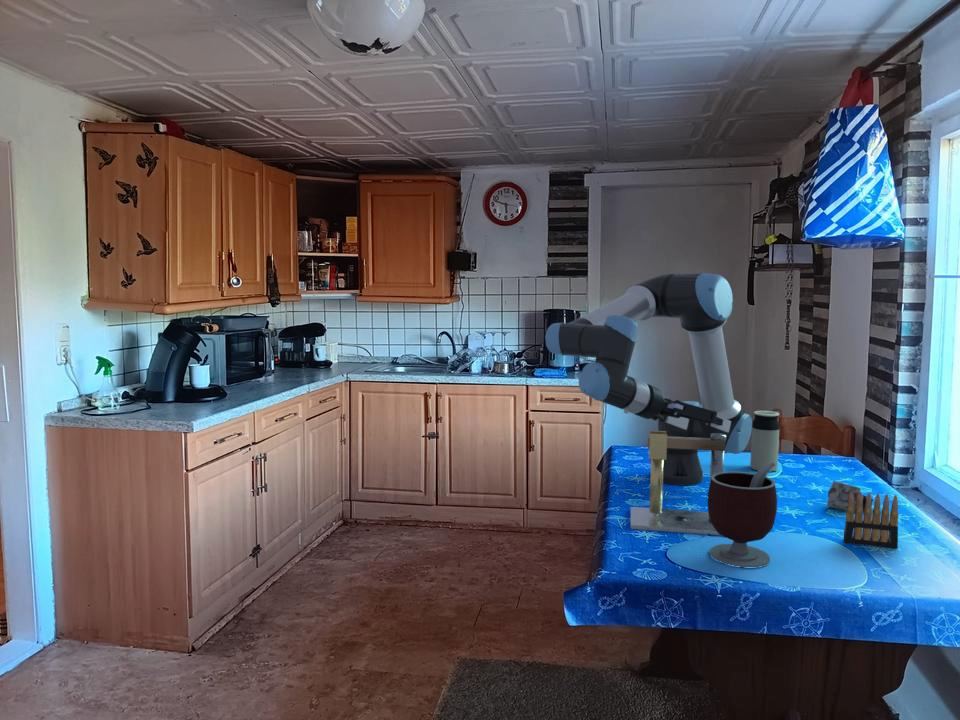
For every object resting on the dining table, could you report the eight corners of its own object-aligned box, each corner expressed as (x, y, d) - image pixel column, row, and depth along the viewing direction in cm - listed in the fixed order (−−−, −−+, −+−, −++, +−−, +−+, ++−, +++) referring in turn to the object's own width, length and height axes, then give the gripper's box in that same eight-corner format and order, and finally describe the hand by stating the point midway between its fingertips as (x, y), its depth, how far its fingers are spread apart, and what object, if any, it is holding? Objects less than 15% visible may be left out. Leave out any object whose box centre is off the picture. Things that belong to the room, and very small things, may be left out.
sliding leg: (647, 517, 175) (650, 434, 173) (646, 510, 181) (649, 429, 178) (664, 519, 174) (667, 435, 172) (663, 511, 180) (666, 430, 177)
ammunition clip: (895, 546, 161) (899, 494, 160) (897, 548, 159) (901, 496, 158) (843, 540, 165) (846, 489, 163) (844, 543, 163) (847, 491, 161)
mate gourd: (737, 574, 145) (742, 478, 143) (691, 550, 158) (695, 461, 156) (794, 562, 151) (799, 470, 149) (746, 540, 164) (750, 455, 162)
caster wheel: (864, 513, 192) (874, 519, 182) (819, 500, 195) (827, 506, 185) (870, 488, 192) (881, 493, 182) (826, 476, 195) (833, 481, 185)
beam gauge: (630, 528, 171) (633, 436, 169) (630, 510, 185) (633, 425, 183) (745, 537, 166) (749, 442, 164) (736, 517, 180) (740, 429, 177)
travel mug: (781, 472, 222) (784, 415, 220) (755, 472, 222) (758, 415, 220) (771, 465, 230) (774, 410, 228) (746, 465, 230) (749, 410, 228)
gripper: (602, 413, 173) (667, 437, 182) (674, 416, 151) (744, 444, 160) (610, 383, 174) (674, 409, 183) (682, 382, 152) (751, 411, 161)
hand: (707, 425), depth 171 cm, fingers open, 13 cm apart
